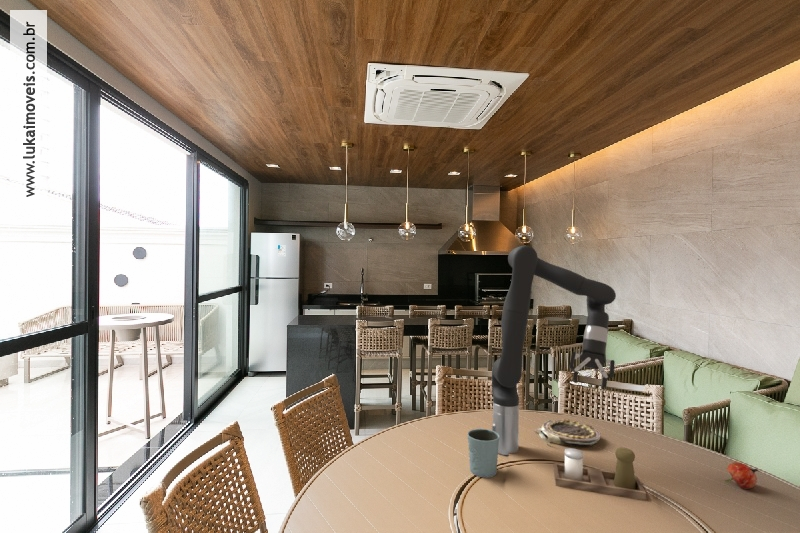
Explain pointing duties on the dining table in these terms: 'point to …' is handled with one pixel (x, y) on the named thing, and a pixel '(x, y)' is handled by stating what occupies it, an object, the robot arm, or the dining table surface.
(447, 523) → the dining table surface
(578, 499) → the dining table surface
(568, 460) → the salt shaker
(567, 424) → the pie
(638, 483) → the cruet caddy
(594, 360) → the robot arm
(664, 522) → the dining table surface
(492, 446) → the teal cup
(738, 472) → the pomegranate
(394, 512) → the dining table surface
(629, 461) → the olive mushroom knob
